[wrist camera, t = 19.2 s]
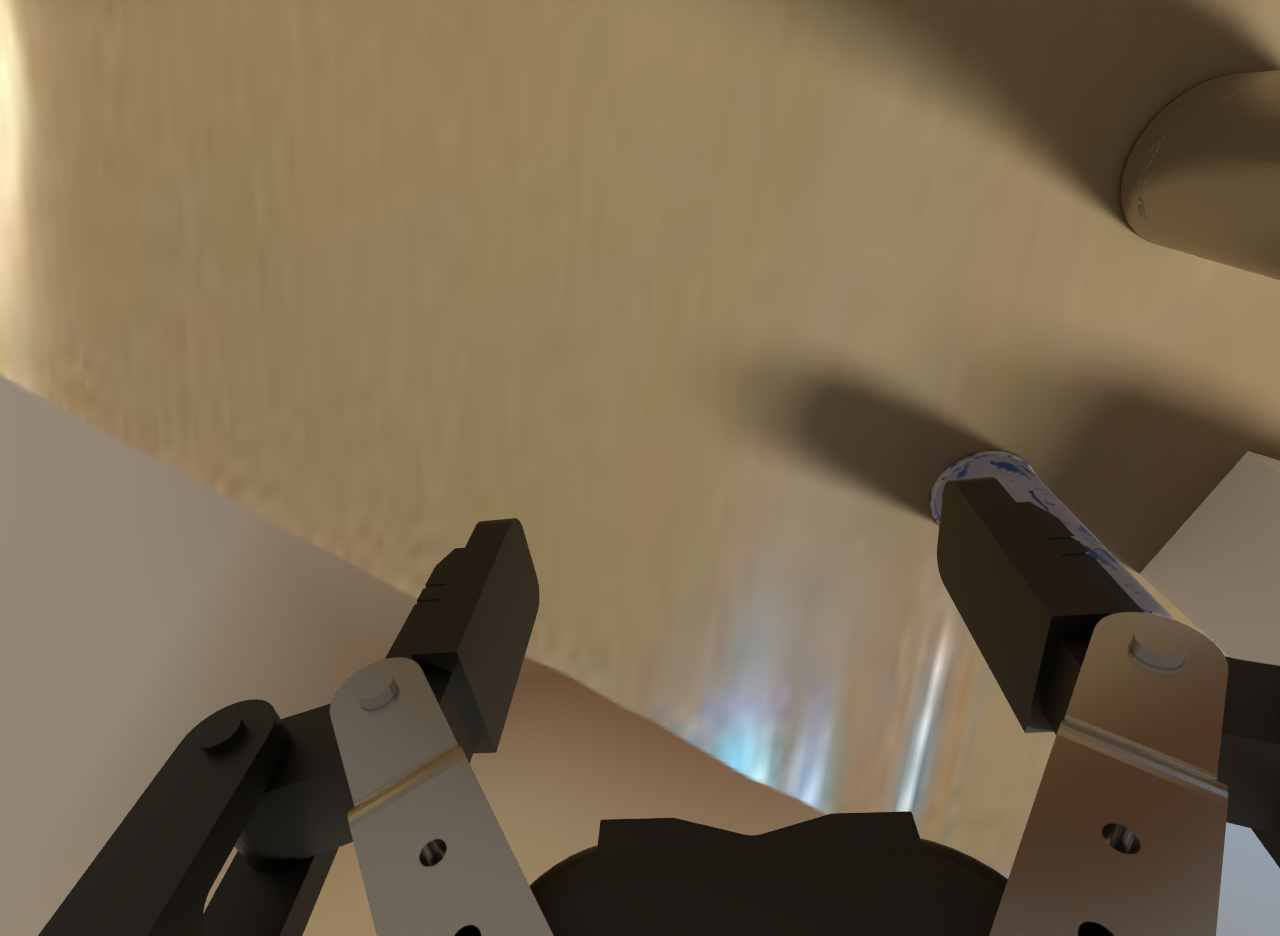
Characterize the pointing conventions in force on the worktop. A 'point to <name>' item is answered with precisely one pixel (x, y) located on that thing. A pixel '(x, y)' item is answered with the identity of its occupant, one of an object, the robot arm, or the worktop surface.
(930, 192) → the worktop surface
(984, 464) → the aerosol can
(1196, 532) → the milk
